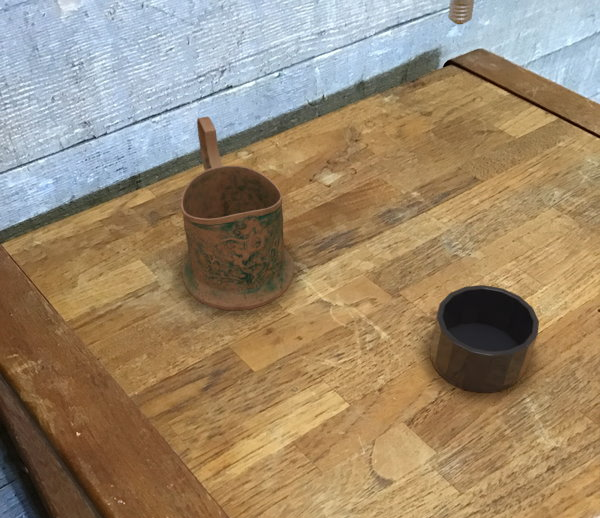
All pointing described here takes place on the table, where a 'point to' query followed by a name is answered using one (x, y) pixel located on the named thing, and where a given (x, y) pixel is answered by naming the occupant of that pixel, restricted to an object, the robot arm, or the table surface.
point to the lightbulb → (461, 11)
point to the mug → (233, 233)
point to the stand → (483, 338)
